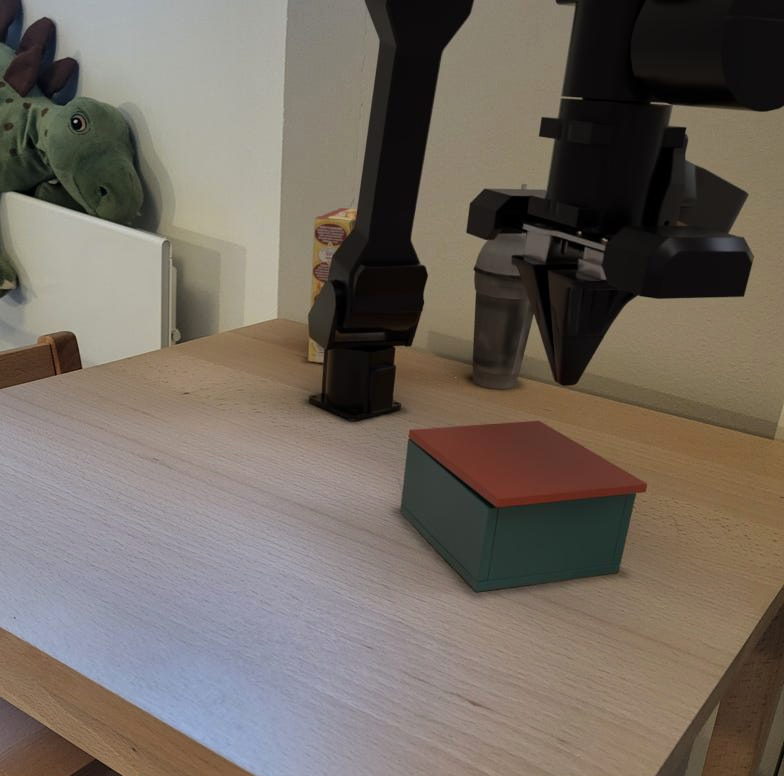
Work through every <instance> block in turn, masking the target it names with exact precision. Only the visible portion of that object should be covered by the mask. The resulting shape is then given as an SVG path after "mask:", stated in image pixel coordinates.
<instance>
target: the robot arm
mask: <svg viewBox="0 0 784 776" xmlns="http://www.w3.org/2000/svg"><path fill="white" fill-rule="evenodd" d="M474 3H475V0H364V4H365V6H366V9H367V12H368V14H369V16H370V19H371V22H372V25H373V27H374V29H375V32H376V34H377V37H378V41H379V43H378V53H377V60H376V67H375V75H374V81H373V82H374V83H373V90H372V97H371V103H370V104H371V105H370V111H369V118H368V126H367V133H366V142H365V148H364V155H363V162H362V171H361V179H360V184H359V185H360V186H359V193H358V199H357V200H358V201H357V208H356V209H357V214H356V221H355V226H354V229H353V230H352V231H351V232H350V234H349V235H348V236H347V237H346V239H345V240H344V241H343V243H342V244H341V245H340V246H339V248H338V249H337V250H336V251H335V253H334V254H333V256H332V260H331V265H330V270H329V275H328V280H327V281H326V282H325V284H324V285H323V287H322V289H321V291H320V293H319V295H318V297H317V298H316V300H315V302H314V304H313V306H312V308H311V307H310V310H309V311H308V314H307V322H308V324H307V325H308V338H309V337H310V338H311V339H312V340H314V341H315V342H316V343H317V344H318V345H320V346H321V347H322V348H323V349H324V359H323V363H322V377H321V392H320V393H319V392H318V393H315V394H310V395H308V402H309V403H312V404H313V405H316V406H318V407H320V408H323V409H325V410H327V411H329V412H331V413H334V414H336V415H338V416H341V417H342V418H345V419H348V420H350V421H358V420H362V419H366V418H370V417H374V416H378V415H383V414H386V413H390V412H394V411H398V410H401V409H402V405H403V403H402V402H400V401H397V400H395V399H394V392H395V381H396V371H397V366H396V365H395V360H396V359H395V358H396V357H395V356H396V347H405V348H409V347H410V348H411V347H412V345H413V343H414V339H415V338H416V337H415V336H416V333H417V330H418V327H419V323H420V319H421V316H422V313H423V311H424V306H425V295H424V294H425V289H426V285H427V281H428V277H429V273H428V269H427V267H426V266H425V265H424V264H422V263H421V261H420V259H419V255H418V254H417V251H416V249H415V246H414V244H413V242H412V235H413V228H414V223H415V217H416V210H417V204H418V198H419V193H420V187H421V181H422V176H423V169H424V164H425V158H426V157H425V156H426V151H427V145H428V140H429V133H430V127H431V123H432V122H431V121H432V115H433V109H434V104H435V98H436V93H437V87H438V81H439V74H440V68H441V62H442V58H443V53H444V51H445V49H446V48H447V46H448V45H449V44H450V43H451V41H452V40H453V39H454V37H455V36H456V34H457V33H458V32H459V31H460V29H461V28H462V27H463V25H465V23H466V21H467V20H468V19H469V18H470V16H471V15H472V12H473V7H474ZM555 3H556V5H559V6H566V7H567V6H568V7H574V11H573V17H572V22H571V31H570V37H569V43H568V49H567V55H566V61H565V67H564V75H563V81H562V87H561V95H560V96H561V97H560V98H559V99H560V101H559V107H558V111H557V113H558V114H557V117H550V116H541V120H540V126H539V132H538V137H539V138H546V139H553V145H552V151H551V159H550V163H549V171H548V175H547V176H548V177H547V184H546V189H536V188H535V189H531V188H529V189H528V188H527V189H521V188H483V190H481V191H480V192H479V193H478V194H477V195H476V197H474V198H473V199H472V201H470V202H469V206H468V216H467V223H466V231H465V233H466V234H469V235H470V236H473V237H476V238H479V239H481V240H484V241H488V240H494V239H495V238H496V237H497V235H498V234H522V233H526V240H525V246H524V253H523V255H512V256H511V262H512V265H514V266H516V267H517V269H518V271H519V274H520V277H521V279H522V282H523V285H524V288H525V290H526V293H527V296H528V299H529V301H530V304H531V307H532V310H533V313H534V315H533V317H534V318H535V321H536V325H537V328H538V331H539V334H540V339H541V342H542V345H543V348H544V352H545V355H546V358H547V361H548V365H549V367H550V371H551V374H552V378H553V381H554V382H555V383H557V384H559V385H561V386H562V387H569V386H571V387H572V386H575V385H577V384H578V383H579V381H580V380H581V377H582V376H583V375H584V373H585V371H586V369H587V367H588V366H589V364H590V362H591V360H592V359H593V357H594V355H595V354H596V352H597V350H598V348H599V346H600V345H601V343H602V342H603V340H604V338H605V337H606V335H607V333H608V331H609V329H610V328H611V326H612V325H613V323H614V322H615V320H616V319H617V317H619V315H620V313H621V312H622V310H623V309H624V308H625V306H626V305H627V304H629V303H630V302H631V301H632V300H634V299H635V298H637V297H643V298H650V299H656V300H668V299H670V300H671V299H672V300H673V299H706V298H707V299H708V298H709V299H710V298H711V299H712V298H714V299H715V298H744V297H745V295H746V290H747V286H748V283H749V278H750V275H751V270H752V267H753V263H754V259H755V255H754V253H753V252H752V250H751V248H750V246H749V244H748V243H747V240H746V239H745V237H743V236H739V235H736V234H731V233H730V232H731V230H732V228H733V227H734V224H735V222H736V220H737V219H738V216H739V215H740V213H741V211H742V209H743V208H744V205H745V204H746V201H747V200H748V198H749V193H748V192H747V191H746V190H744V189H742V188H741V187H739V186H737V185H735V184H733V183H732V182H730V181H728V180H727V179H724V178H723V177H721V176H719V175H718V174H715V173H713V172H712V171H710V170H708V169H706V168H704V167H702V166H699V165H698V164H694V163H693V162H691V161H689V160H687V159H686V154H687V149H688V144H689V136H688V134H687V132H686V131H687V127H686V126H677V125H670V122H671V117H672V112H673V107H674V106H680V107H693V108H703V109H716V110H717V109H719V110H732V111H744V112H757V113H767V112H772V111H775V110H780V109H781V108H784V0H555Z"/></svg>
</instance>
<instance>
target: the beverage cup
mask: <svg viewBox="0 0 784 776" xmlns="http://www.w3.org/2000/svg"><path fill="white" fill-rule="evenodd" d="M520 189H528V184H527V183H521V187H520ZM525 240H526V233H522V234H498V235H497V237H496V238H495V239H494V240H486V241H485V243H484V244H483V245H482V247H481V249H480V251H479V252H478V254H477V258H476V261H475V264H474V267H473V271H474V276H473V279H474V280H473V282H474V290H475V301H474V302H475V303H474V325H473V344H472V345H473V346H472V348H473V349H472V364H471V365H472V379H471V380H472V383H474V384H475V385H477V386H480V387H484V388H488V389H494V390H509V389H514V388H515V387H516V385H517V380H518V377H519V374H520V372H521V368H522V364H523V359H524V355H525V351H526V347H527V344H528V340H529V335H530V331H531V327H532V324H533V320H534V313H533V310H532V307H531V304H530V301H529V299H528V296H527V293H526V290H525V288H524V285H523V282H522V279H521V277H520V274H519V271H518V269H517V267H516V266H514V265H512V262H511V256H512V255H523V253H524V246H525Z"/></svg>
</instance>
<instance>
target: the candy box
mask: <svg viewBox="0 0 784 776" xmlns="http://www.w3.org/2000/svg"><path fill="white" fill-rule="evenodd" d="M356 214H357V208H356V209H355V208H347V207H346V208H344V207H340V208H337V209H336V210H332V211H330V212H328V213H325V214H323V215H320V216H319V215H318V216H315V217H314V227H313V228H314V230H313V248H312V249H313V251H312V273H311V293H310V309H311V308H312V306H313V304H314V302H315V300H316V298H317V297H318V295H319V293H320V291H321V289H322V287H323V285H324V284H325V282H326V281H327V280H328V275H329V270H330V265H331V260H332V256H333V254H334V253H335V251H336V250H337V249H338V248H339V246H340V245H341V244H342V243H343V241H344V240H345V239H346V237H347V236H348V235H349V234H350V232H351V231H352V230H353V229H354V226H355V221H356ZM307 354H308V355H307V361H308V362H312V363H317V364H318V363H319V364H323V359H324V349H323V348H322V347H321V346H320V345H318V344H317V343H316V342H315V341H314V340H312V339H311V338H310V337H309V336H308V353H307Z"/></svg>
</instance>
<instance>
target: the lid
mask: <svg viewBox="0 0 784 776" xmlns="http://www.w3.org/2000/svg"><path fill="white" fill-rule="evenodd" d="M408 439H411V440H412V441H413V442H415V443H416V444H417V445H419V446H420V447H421V448H422V449H424V450H425V451H426V452H427V453H429V454H430V455H431V456H432V457H434V458H435V459H436V460H437V461H439V462H440V463H441V464H442V465H444V466H445V467H446V468H447V469H449V470H450V471H451V472H452V473H454V474H455V475H456V476H458V477H459V478H460V479H461V480H463V481H464V482H465V483H466V484H468V485H469V486H470V487H471V488H473V489H474V490H475V491H476V492H478V493H479V494H480V495H481V496H483V497H484V498H485V499H486V500H488V501H489V502H490V503H492V504H493V505H494V506H495V507H497V508H498V507H508V506H517V505H527V504H537V503H546V502H556V501H566V500H575V499H585V498H595V497H604V496H614V495H624V494H634V493H636V494H639V493H640V494H641V493H642V494H643V493H647V489H648V483H647V482H645V481H644V480H642V479H640V478H639V477H637V476H635V475H633V474H632V473H630V472H628V471H627V470H625V469H623V468H621V467H620V466H617V465H616V464H615V463H614V462H613V463H612V462H611V461H609V460H608V459H606V458H604V457H603V456H601V455H599V454H597V453H596V452H594V451H592V450H591V449H589V448H587V447H585V446H584V445H582V444H580V443H578V442H577V441H575V440H574V439H571V438H570V437H568V436H566V435H565V434H563V433H561V432H560V431H558V430H556V429H554V428H552V427H551V426H549V425H547V424H546V423H545V422H542V421H541V420H529V421H515V422H501V423H500V422H499V423H485V424H474V425H473V424H471V425H457V426H445V427H432V428H430V427H429V428H416V429H409V430H408Z"/></svg>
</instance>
